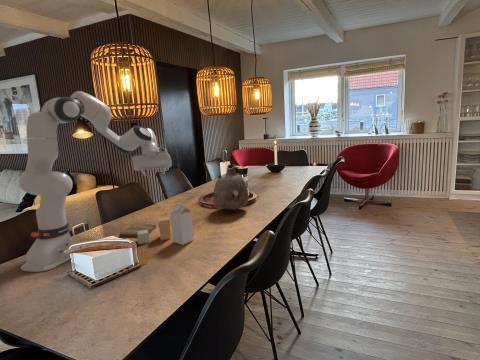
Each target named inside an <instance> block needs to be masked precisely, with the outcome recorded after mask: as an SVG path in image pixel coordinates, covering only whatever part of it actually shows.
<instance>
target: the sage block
mask: <svg viewBox="0 0 480 360" xmlns="http://www.w3.org/2000/svg"><path fill="white" fill-rule="evenodd" d="M137 235H138V237H137V241H138V245H143V244H147V243H150V237H149V235H150V234H148V230H142V231H137Z"/></svg>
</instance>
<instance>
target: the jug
mask: <svg viewBox="0 0 480 360" xmlns="http://www.w3.org/2000/svg"><path fill="white" fill-rule="evenodd" d="M213 200H214V201H213V202H214V204H215V205H214V206H215V207H217V208H220V209H225V210H228V211H230V212H231V211H232V212H234V211H235V210H237V209H240V208H243V207H244V206H246V205H247V204H248V202H249V190H248V186H247V183H246V181H245V179H244V178H243V177H242V176H241V175H239V174H237V172H236V165H235V163H231V164H227V167H226V173H224V174H218V176H217V179H216V182H215V183H214V189H213Z"/></svg>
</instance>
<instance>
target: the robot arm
mask: <svg viewBox="0 0 480 360" xmlns="http://www.w3.org/2000/svg"><path fill="white" fill-rule="evenodd" d="M80 117H82V118H84V119H86V120H87V121H89V122H90V123H91V124H92V128H93V130H94V131H95V132H96V133H97V134H98V135H100V136H101V137H103V139H105V140H106V141H107V142H109V143H110V144H112V145H113V146H114V147H115V148H116V149H117V150H118V152H120V153H122V154H124V155H125V154H126V155H130V154H131V153H133V152H134V150H136V149H137V148H139V147H141V153H142V154H135V155H133V156H131V158H130V159H131V162H132V167H133V170H134V171H135V172H137V171H138V172H139V171H140V172H141V173H142V174H143V177H147V176H148V175H147V171H149V170H157V169H162V170H161V175H165V174H166V169H167V168H171V167H172V166H173V162H172V158H171V155H170V154H169V153H168V149H167V148H163V147H158V140H157V136H156V134H155V132H154V130H152V129H151V128H149V127H146V128H145V127H144V126H140V125H135V126H132V128H130V129H128V130H127V131H126V132H125V133H123V135H118V134H116V132H115V131H113V130H111V129H110V128H109V125H110V122H111V120H112V111H111V108H110V107H109V105H107V104H106V103H104V102H103V101H102V100H100V99H98V98H97V97H95V96H94V95H91V94H89V93H86V92H84V91H83V90H82V91H81V90H77V91H74V92H73V93H72V94H71V95H70V97H69V96H63V97H54V98H51V99H47V100H46V101H44V102H43V103H42V104H41V106H40V109H39V110H38V111H35V112H32V113H30V114H29V115H28V116H27V122H26V145H27V161H26V167H25V169H24V172H23V174H22V175H21V176H20V177H19V181H18V185H19V187H20V189H21V190H22V191H24V192H25V193H27V194H30V195H32V196H40V201H39V202H40V203H39V206H38V208H37V209H36V211H35V216H36V221H37V226H38V228H37V231H36V232H34V231H33V232H31V234H30V237H32V238H36V240H35V241H34V242H33V243H32V245H31V246H30V248H29V250H28V251H27V252H26V254H25V257H26V262H24V263H23V264H22V265H21V266H20V270H21V271H24V272H31V273H32V272H34V273H35V272H37V273H38V272H45V271H49V270H52V269H54V268H56V267H58V266H60V265H62V264H63V263H66V262H68V261H70V260H71V259H70V255H69V254H65V253H64V251H65V250H67V249H68V248H69V247H70V246H71V245H74V241H73V237H72V236H71V234H70V225H69V222H68V221H67V213H66V212H67V211H66V201H67V197H68V195H69V194H70V192H71V191H72V189H73V180H72V178H71V176H70V175H69V174H66V173H64V172H61V171H56V170H55V171H54V170H53V167H54V163H55V161H56V160H57V159H58V158H59V145H58V143H59V141H58V133H57V131H58V127H59V124H67V123H73V122H75V121H77V120H79V118H80Z"/></svg>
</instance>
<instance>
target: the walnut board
mask: <svg viewBox="0 0 480 360" xmlns="http://www.w3.org/2000/svg"><path fill="white" fill-rule="evenodd" d="M156 228H157V225H156V224H131V225H130V226H128V227H127V228H126V229H124V230H122V231H121V232H120V233H119V235H118V236H119V238H138V235H137V231H142V230H148V235H150V234H151V233H152V232H153V231H154V230H155V229H156Z"/></svg>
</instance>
